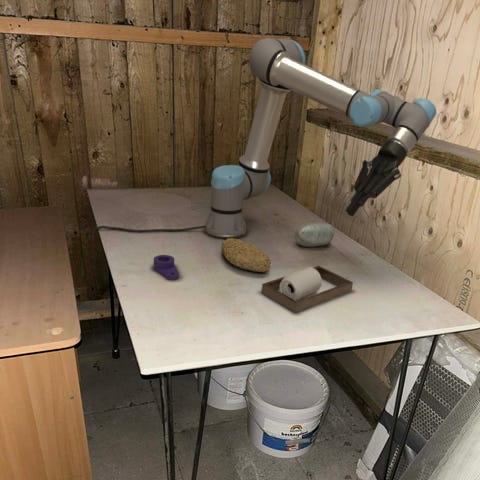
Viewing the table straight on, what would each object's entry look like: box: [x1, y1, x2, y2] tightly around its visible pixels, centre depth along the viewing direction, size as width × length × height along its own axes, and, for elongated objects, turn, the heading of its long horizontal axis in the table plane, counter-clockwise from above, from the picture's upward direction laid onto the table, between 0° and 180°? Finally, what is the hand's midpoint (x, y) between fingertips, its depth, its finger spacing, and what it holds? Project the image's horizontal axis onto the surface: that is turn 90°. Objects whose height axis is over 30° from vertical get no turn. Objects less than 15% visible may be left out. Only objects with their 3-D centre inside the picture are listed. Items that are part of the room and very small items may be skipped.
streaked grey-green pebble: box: [295, 221, 335, 248], centre depth 172 cm, size 14×10×10 cm
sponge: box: [221, 238, 272, 273], centre depth 154 cm, size 13×8×20 cm
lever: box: [153, 254, 180, 281], centre depth 146 cm, size 12×6×3 cm, turn 29°
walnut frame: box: [261, 265, 354, 314], centre depth 141 cm, size 24×14×3 cm, turn 129°
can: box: [278, 266, 323, 301], centre depth 137 cm, size 8×8×12 cm
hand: (349, 213), depth 138 cm, fingers closed
